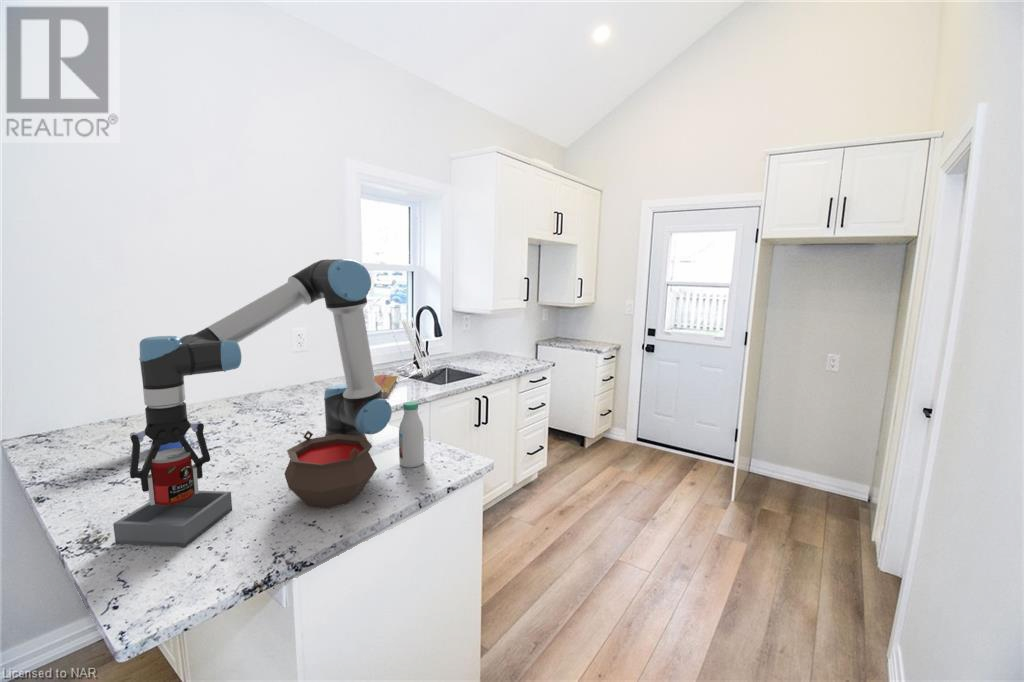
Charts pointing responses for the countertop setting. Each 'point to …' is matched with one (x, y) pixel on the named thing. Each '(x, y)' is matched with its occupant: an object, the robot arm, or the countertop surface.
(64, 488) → the countertop surface
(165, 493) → the canned food
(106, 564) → the countertop surface
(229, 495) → the bin
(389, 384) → the orange triangular wedge
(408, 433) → the milk bottle
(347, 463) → the brown cooking pot
